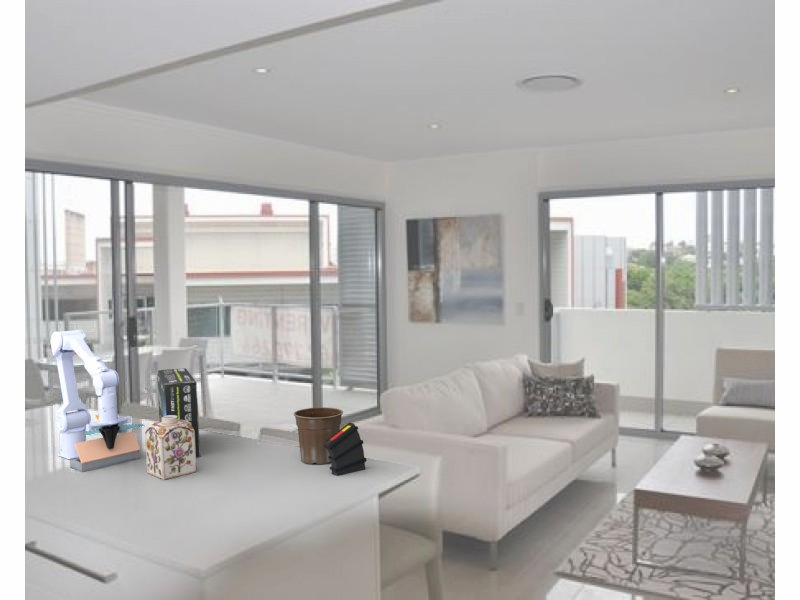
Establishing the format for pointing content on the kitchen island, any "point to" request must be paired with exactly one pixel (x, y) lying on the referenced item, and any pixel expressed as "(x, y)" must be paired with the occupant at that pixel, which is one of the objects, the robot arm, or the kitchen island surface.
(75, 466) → the cable duct
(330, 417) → the plant pot
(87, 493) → the kitchen island surface
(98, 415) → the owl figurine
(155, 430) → the decorative jar
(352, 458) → the magazine
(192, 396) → the router box
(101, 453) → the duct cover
